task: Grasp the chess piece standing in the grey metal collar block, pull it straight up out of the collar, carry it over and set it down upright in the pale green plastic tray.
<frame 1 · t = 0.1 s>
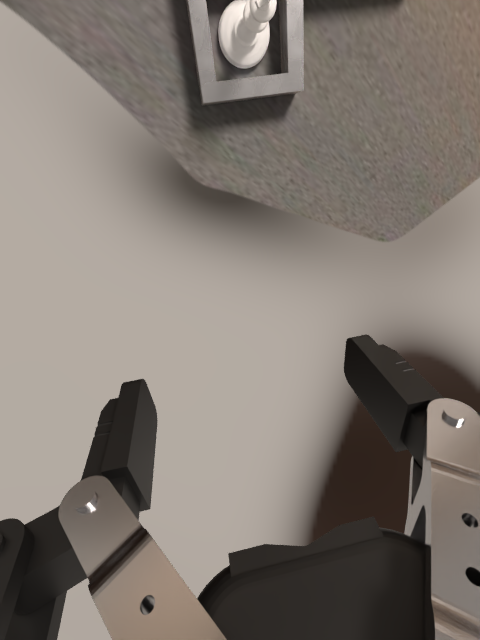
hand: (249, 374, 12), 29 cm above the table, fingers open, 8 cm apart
collar block: (243, 35, 29), on the table
chess piece: (243, 36, 29), resting in collar block
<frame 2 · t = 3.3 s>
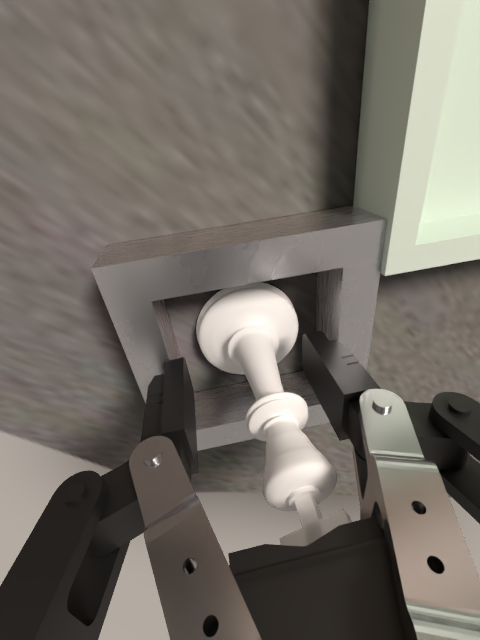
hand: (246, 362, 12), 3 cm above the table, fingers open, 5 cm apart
collar block: (247, 327, 15), on the table
chess piece: (246, 325, 15), resting in collar block
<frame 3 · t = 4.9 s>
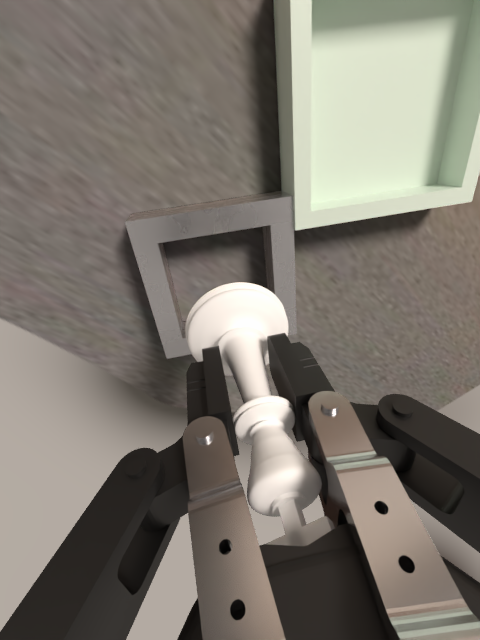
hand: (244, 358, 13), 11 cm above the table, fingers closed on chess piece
collar block: (219, 272, 22), on the table
tray: (372, 107, 19), on the table
chess piece: (236, 326, 15), point 9 cm above the table, touching gripper
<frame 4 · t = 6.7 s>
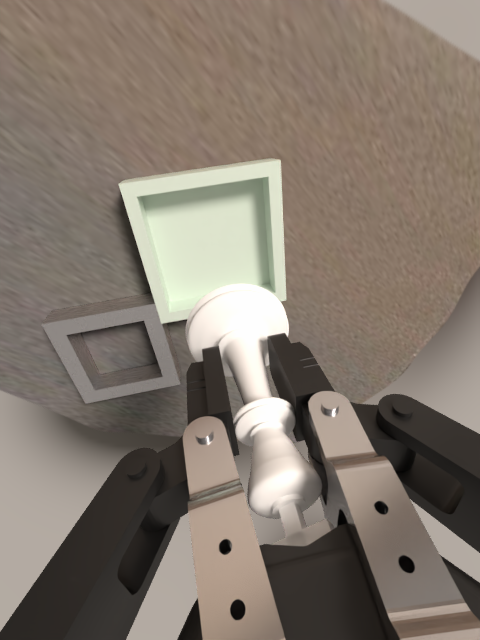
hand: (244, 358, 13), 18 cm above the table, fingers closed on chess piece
collar block: (122, 342, 31), on the table
tray: (211, 241, 28), on the table
chess piece: (236, 327, 15), point 15 cm above the table, touching gripper
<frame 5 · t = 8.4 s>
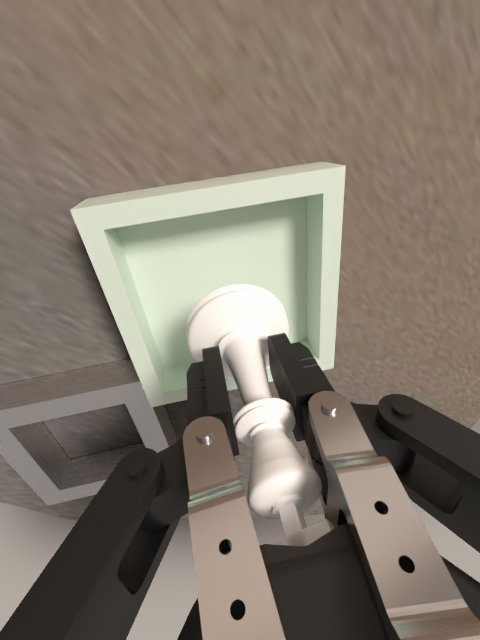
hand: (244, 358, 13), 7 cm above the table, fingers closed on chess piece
collar block: (98, 420, 22), on the table
tray: (225, 285, 18), on the table
chess piece: (236, 327, 15), point 5 cm above the table, touching gripper
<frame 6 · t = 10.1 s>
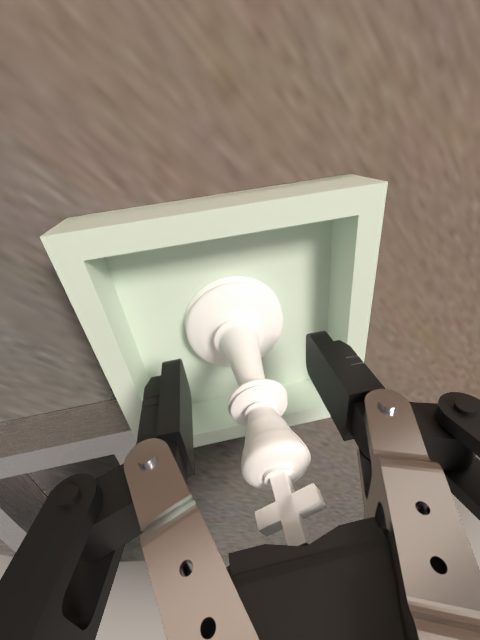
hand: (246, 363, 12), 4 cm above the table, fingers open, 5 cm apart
collar block: (85, 464, 20), on the table
tray: (232, 316, 16), on the table
chess piece: (233, 319, 15), resting on tray
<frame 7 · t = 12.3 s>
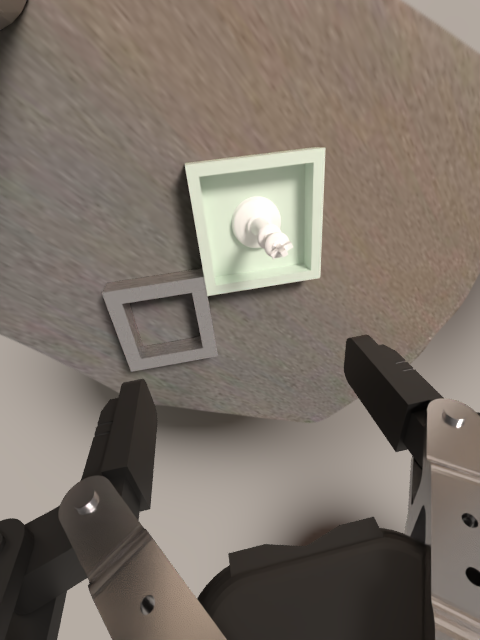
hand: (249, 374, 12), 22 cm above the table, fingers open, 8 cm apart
collar block: (166, 316, 34), on the table
tray: (255, 222, 31), on the table
chess piece: (255, 222, 30), resting on tray
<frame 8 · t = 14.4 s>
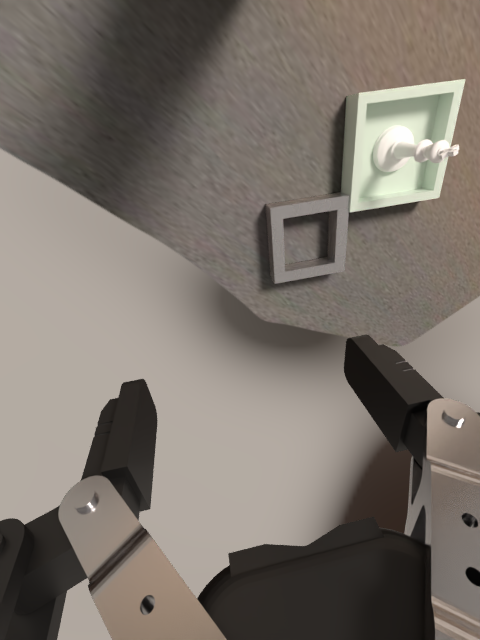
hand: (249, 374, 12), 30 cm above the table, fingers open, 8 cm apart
collar block: (303, 236, 41), on the table
tray: (389, 150, 37), on the table
chess piece: (390, 149, 37), resting on tray
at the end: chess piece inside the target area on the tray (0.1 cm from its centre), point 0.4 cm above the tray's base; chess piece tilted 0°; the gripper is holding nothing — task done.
